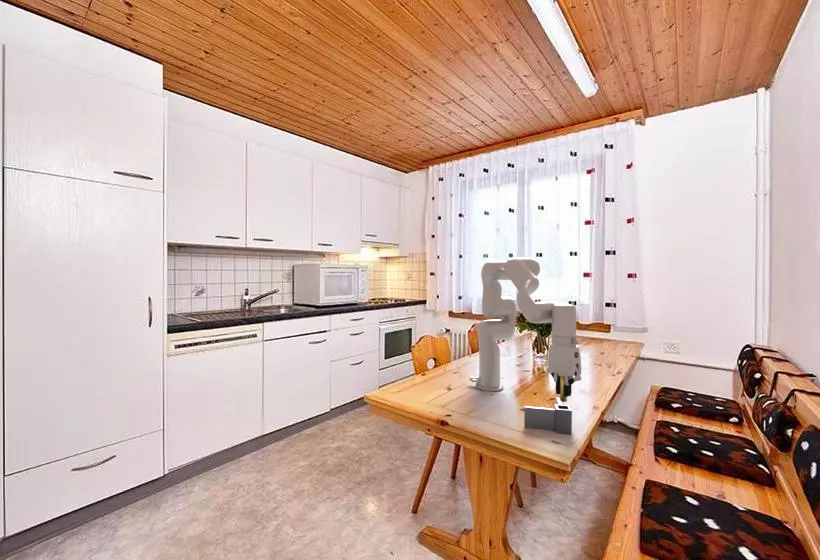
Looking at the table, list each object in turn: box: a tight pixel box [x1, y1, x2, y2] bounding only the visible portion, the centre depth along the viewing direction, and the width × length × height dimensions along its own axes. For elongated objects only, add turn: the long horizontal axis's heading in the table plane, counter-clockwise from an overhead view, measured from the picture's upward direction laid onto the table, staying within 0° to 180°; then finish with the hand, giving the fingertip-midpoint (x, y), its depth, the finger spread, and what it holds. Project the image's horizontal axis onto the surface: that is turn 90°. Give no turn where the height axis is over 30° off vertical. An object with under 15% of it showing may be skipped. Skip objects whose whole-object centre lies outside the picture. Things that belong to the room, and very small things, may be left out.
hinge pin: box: [558, 374, 568, 403], centre depth 119 cm, size 3×3×10 cm
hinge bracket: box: [523, 397, 573, 435], centre depth 126 cm, size 15×15×8 cm
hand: (563, 394), depth 119 cm, fingers closed on hinge pin, 2 cm apart
